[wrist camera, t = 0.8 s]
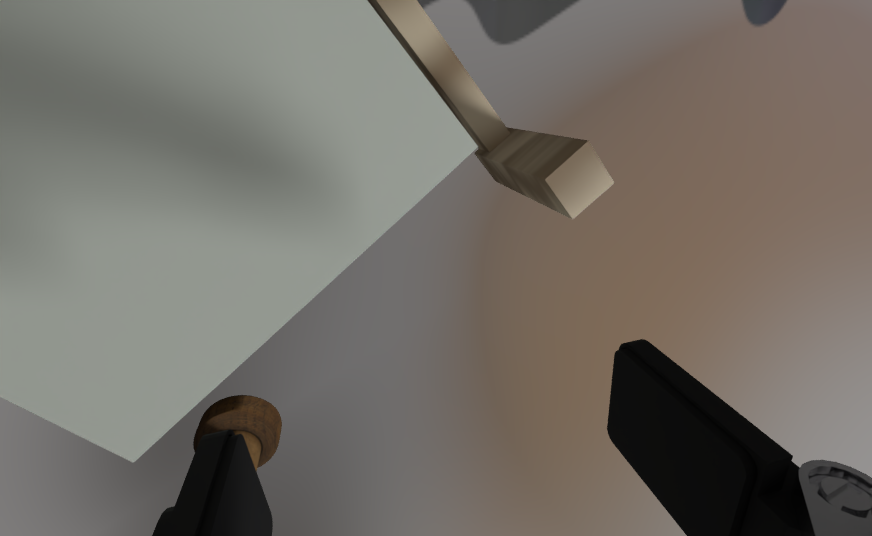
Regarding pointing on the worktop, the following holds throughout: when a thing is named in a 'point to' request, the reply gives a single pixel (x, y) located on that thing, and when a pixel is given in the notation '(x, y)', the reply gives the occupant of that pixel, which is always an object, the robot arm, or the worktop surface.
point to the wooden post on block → (498, 123)
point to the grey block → (190, 190)
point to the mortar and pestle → (245, 424)
